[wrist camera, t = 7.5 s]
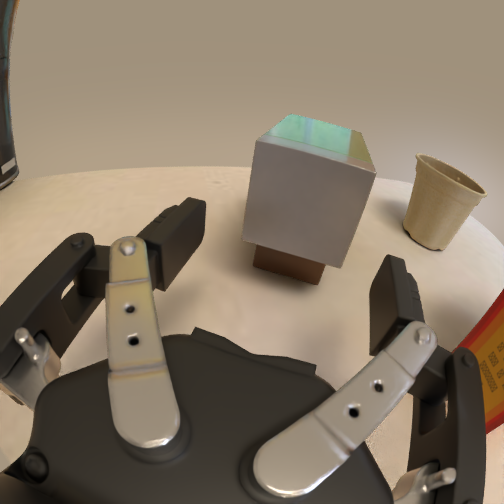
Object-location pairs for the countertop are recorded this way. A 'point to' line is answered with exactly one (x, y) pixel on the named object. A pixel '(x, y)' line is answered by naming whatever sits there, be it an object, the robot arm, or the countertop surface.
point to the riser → (288, 264)
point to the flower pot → (439, 202)
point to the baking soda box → (490, 360)
